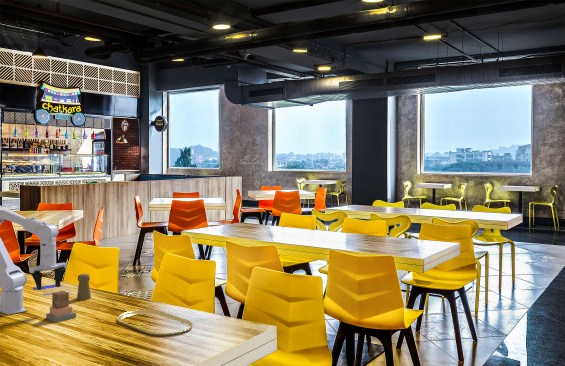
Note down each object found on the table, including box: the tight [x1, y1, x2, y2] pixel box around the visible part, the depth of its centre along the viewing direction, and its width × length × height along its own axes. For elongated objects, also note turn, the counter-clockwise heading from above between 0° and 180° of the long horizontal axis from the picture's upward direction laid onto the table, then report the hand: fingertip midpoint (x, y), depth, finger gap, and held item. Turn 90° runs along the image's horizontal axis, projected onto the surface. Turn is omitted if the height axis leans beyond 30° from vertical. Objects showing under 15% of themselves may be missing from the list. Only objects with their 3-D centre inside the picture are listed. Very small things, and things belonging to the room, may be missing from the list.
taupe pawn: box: [76, 273, 92, 301], centre depth 241 cm, size 6×6×11 cm
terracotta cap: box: [49, 305, 73, 316], centre depth 210 cm, size 6×6×2 cm
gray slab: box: [45, 311, 77, 323], centre depth 211 cm, size 8×8×2 cm
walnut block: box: [51, 290, 70, 309], centre depth 210 cm, size 4×4×6 cm
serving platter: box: [117, 309, 193, 337], centre depth 204 cm, size 19×35×2 cm, turn 48°
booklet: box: [32, 284, 62, 296], centre depth 253 cm, size 12×25×1 cm, turn 40°
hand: (48, 287), depth 216 cm, fingers open, 7 cm apart
